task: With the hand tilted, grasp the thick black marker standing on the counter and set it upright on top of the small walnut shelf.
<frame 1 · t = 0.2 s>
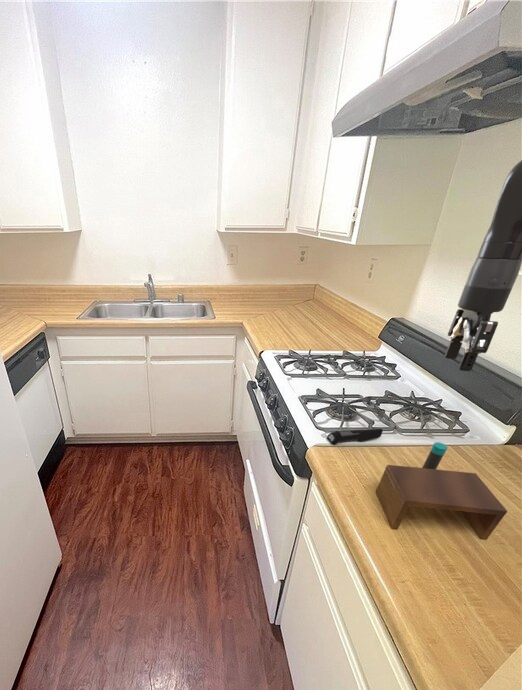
hand: (456, 364, 76), 26 cm above the countertop, tool pointing down, fingers open, 8 cm apart
shelf: (426, 514, 74), on the countertop
electric trimmer: (352, 439, 97), on the countertop
marker: (423, 479, 83), on the countertop
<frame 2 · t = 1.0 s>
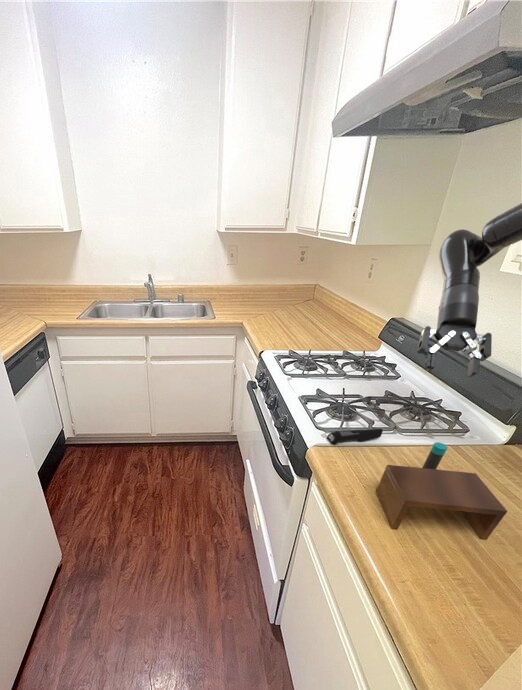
hand: (450, 372, 80), 23 cm above the countertop, tool tilted 45°, fingers open, 8 cm apart
nothing on the countertop moved.
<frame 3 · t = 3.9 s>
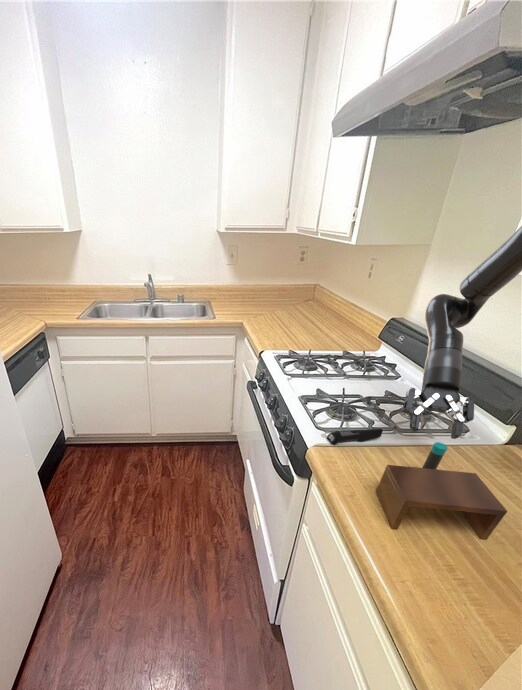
hand: (434, 434, 82), 10 cm above the countertop, tool tilted 45°, fingers open, 8 cm apart
nothing on the countertop moved.
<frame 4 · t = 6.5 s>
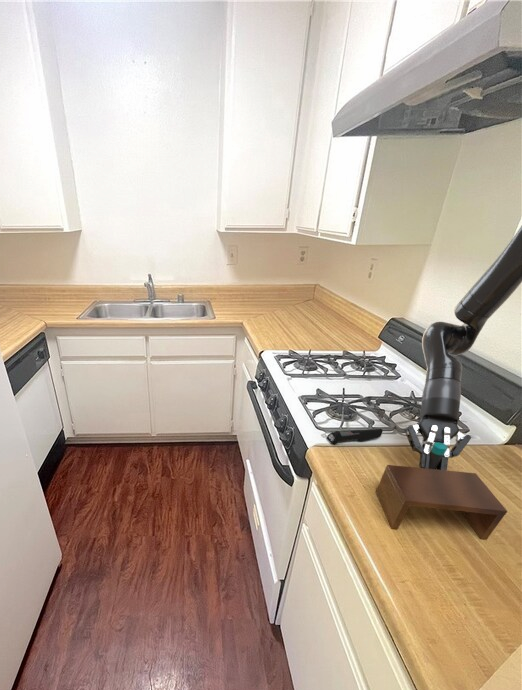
hand: (432, 471, 79), 4 cm above the countertop, tool tilted 45°, fingers closed on marker, 2 cm apart
marker: (423, 479, 83), on the countertop, touching gripper
everything else where it was.
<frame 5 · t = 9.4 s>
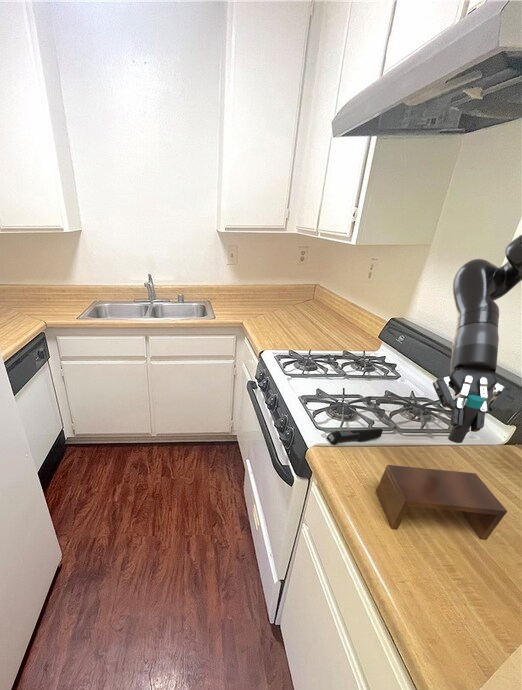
hand: (466, 429, 69), 18 cm above the countertop, tool tilted 45°, fingers closed on marker, 2 cm apart
marker: (454, 439, 73), point 14 cm above the countertop, touching gripper
everything else where it was.
when the fingers open (12 cm above the countertop, at t = 12.5 s): marker stays where it is, resting on shelf.
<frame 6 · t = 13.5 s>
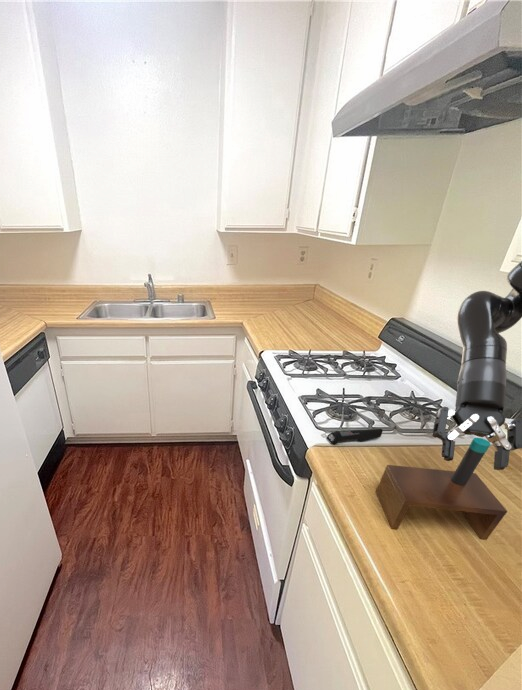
hand: (473, 464, 66), 13 cm above the countertop, tool tilted 45°, fingers open, 8 cm apart
marker: (458, 481, 70), point 8 cm above the countertop, touching shelf
everything else where it was.
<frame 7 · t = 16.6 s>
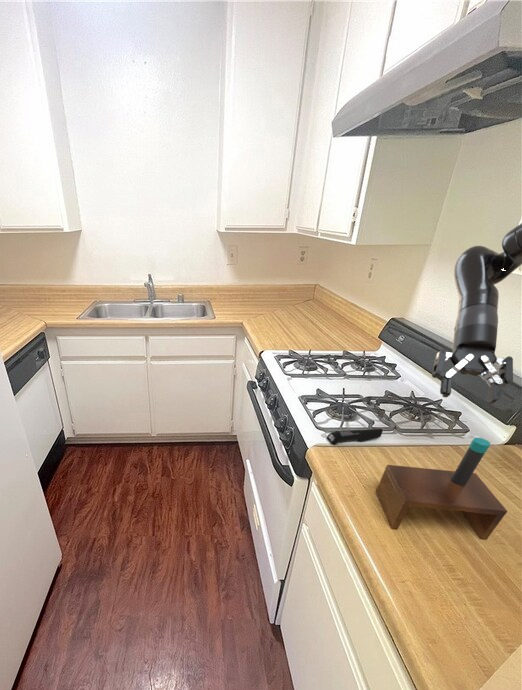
hand: (468, 399, 74), 20 cm above the countertop, tool tilted 45°, fingers open, 8 cm apart
nothing on the countertop moved.
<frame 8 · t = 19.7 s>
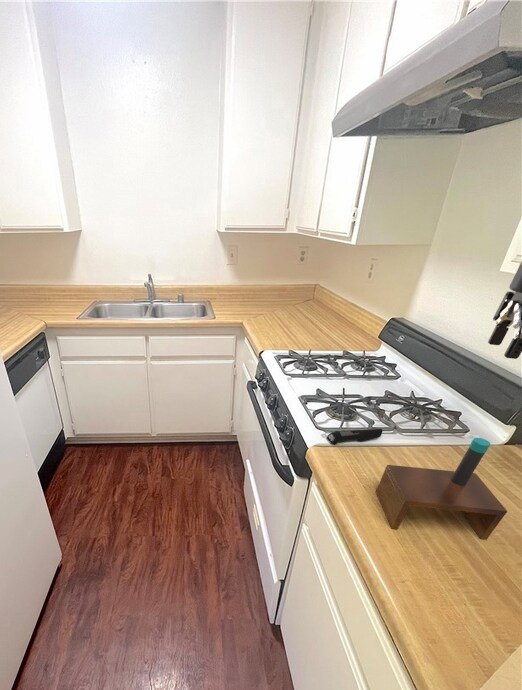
hand: (501, 350, 72), 30 cm above the countertop, tool pointing down, fingers open, 8 cm apart
nothing on the countertop moved.
at the end: marker inside the target area on the shelf (4.4 cm from its centre), point 8.0 cm above the shelf's base; marker tilted 0°; the gripper is holding nothing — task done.
